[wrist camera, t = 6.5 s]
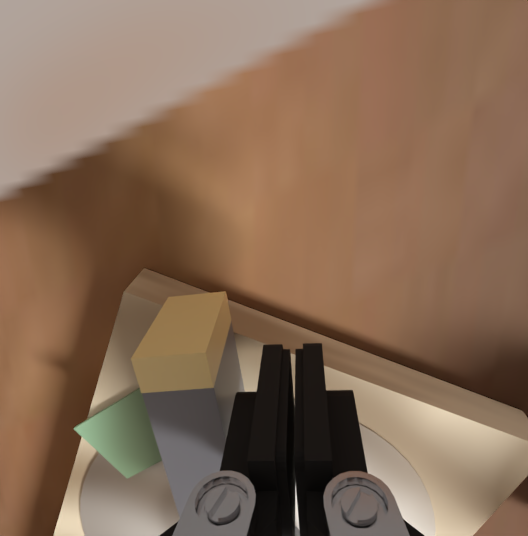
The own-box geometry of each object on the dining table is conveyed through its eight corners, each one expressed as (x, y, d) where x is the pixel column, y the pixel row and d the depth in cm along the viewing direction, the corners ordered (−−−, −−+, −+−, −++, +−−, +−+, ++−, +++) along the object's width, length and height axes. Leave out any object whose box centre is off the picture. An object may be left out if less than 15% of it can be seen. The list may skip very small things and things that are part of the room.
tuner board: (331, 639, 23) (335, 692, 21) (50, 553, 22) (26, 601, 20) (522, 410, 17) (555, 455, 15) (135, 264, 15) (111, 290, 13)
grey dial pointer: (316, 615, 19) (322, 719, 15) (220, 616, 19) (207, 718, 16) (268, 285, 12) (261, 347, 9) (129, 299, 13) (78, 362, 10)
